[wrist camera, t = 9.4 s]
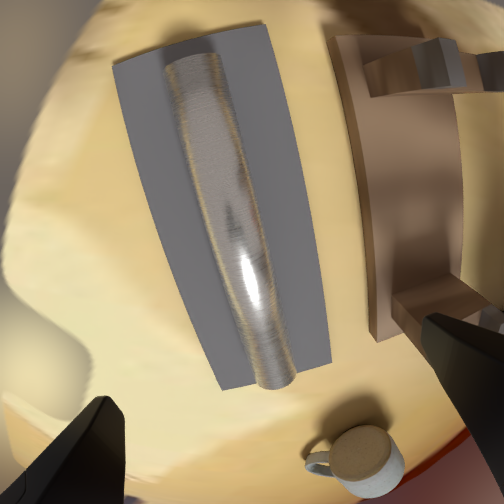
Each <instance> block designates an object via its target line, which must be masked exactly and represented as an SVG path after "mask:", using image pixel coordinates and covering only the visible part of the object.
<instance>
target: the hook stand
mask: <svg viewBox="0 0 504 504" xmlns="http://www.w3.org/2000/svg"><path fill="white" fill-rule="evenodd" d="M327 46H328V49H329V52H330V56H331V60H332V63H333V67H334V71H335V74H336V78H337V82H338V86H339V90H340V95H341V99H342V103H343V108H344V112H345V117H346V122H347V127H348V132H349V137H350V142H351V147H352V153H353V159H354V165H355V171H356V177H357V184H358V191H359V198H360V206H361V214H362V222H363V231H364V241H365V253H366V265H367V280H368V299H369V332H370V333H371V335H372V336H373V338H374V339H375V341H376V342H377V343H378V342H381V341H383V340H386V339H389V338H391V337H394V336H396V335H399V334H401V333H405V334H406V336H407V337H408V338H409V339H410V341H411V342H412V343H413V344H414V345H415V347H416V348H417V349H418V350H419V352H420V353H421V354H422V355H423V357H424V358H425V359H426V360H427V362H428V363H429V364H430V365H431V363H430V361H429V359H428V357H427V355H426V353H425V351H424V349H423V348H422V345H421V342H420V336H421V328H422V320H423V318H424V316H426V315H428V314H431V313H433V312H439V313H442V314H445V315H448V316H451V317H454V318H457V319H460V320H463V321H465V322H468V323H471V324H474V325H477V326H480V327H483V328H486V329H489V330H492V331H495V332H498V333H501V334H504V314H503V313H502V312H501V311H500V310H499V309H497V308H496V307H495V306H494V305H492V304H491V303H490V302H489V301H487V300H486V299H485V298H484V297H482V296H481V295H480V294H478V293H477V292H476V291H474V290H473V289H472V288H470V287H469V286H468V285H466V284H465V283H464V282H462V281H461V280H460V273H461V261H462V246H463V178H462V163H461V151H460V142H459V133H458V126H457V119H456V113H455V107H454V101H453V96H452V94H459V93H483V92H504V51H498V52H491V53H484V54H478V55H474V54H469V53H463V52H459V51H458V48H457V44H456V41H455V40H451V39H445V38H435V39H426V38H416V37H405V36H388V35H335V36H334V37H333V38H331V39H330V40H329V41H328V42H327ZM431 367H432V365H431ZM432 368H433V367H432Z"/></svg>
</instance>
